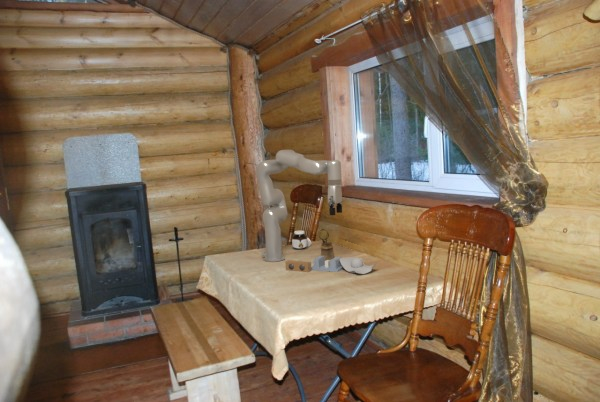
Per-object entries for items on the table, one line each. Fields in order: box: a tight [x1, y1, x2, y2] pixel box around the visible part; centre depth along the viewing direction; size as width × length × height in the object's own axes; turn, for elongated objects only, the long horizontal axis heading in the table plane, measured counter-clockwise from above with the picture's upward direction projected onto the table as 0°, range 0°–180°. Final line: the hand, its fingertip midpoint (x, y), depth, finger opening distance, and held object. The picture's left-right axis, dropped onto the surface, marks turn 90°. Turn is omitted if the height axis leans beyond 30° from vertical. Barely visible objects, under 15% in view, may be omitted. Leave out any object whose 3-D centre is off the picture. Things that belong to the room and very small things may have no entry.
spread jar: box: [291, 230, 312, 251], centre depth 316 cm, size 12×11×12 cm
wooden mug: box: [318, 228, 335, 261], centre depth 276 cm, size 9×14×18 cm, turn 11°
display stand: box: [311, 255, 345, 273], centre depth 259 cm, size 16×10×6 cm, turn 62°
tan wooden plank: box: [284, 260, 312, 273], centre depth 259 cm, size 14×4×5 cm, turn 61°
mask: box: [339, 256, 377, 275], centre depth 253 cm, size 20×8×15 cm
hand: (336, 213), depth 262 cm, fingers open, 9 cm apart
